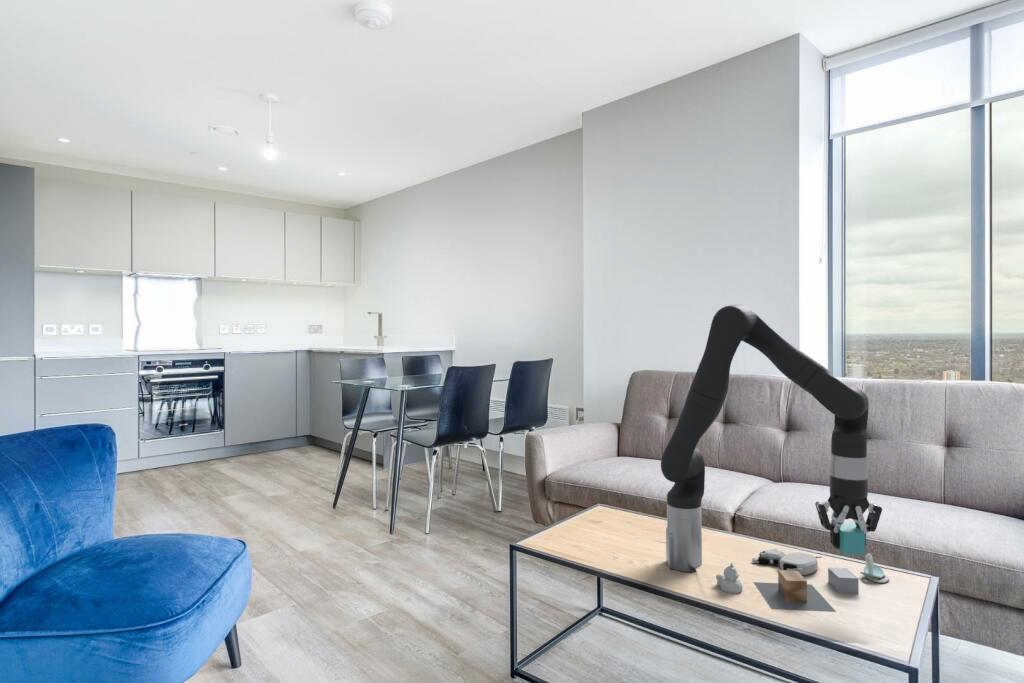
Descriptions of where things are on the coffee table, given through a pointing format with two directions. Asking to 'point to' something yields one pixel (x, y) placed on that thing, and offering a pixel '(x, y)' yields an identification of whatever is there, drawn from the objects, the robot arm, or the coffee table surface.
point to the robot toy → (789, 561)
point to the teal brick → (851, 540)
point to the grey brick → (843, 580)
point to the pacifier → (873, 570)
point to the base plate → (779, 602)
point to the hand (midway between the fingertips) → (847, 547)
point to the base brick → (792, 586)
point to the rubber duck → (729, 580)
